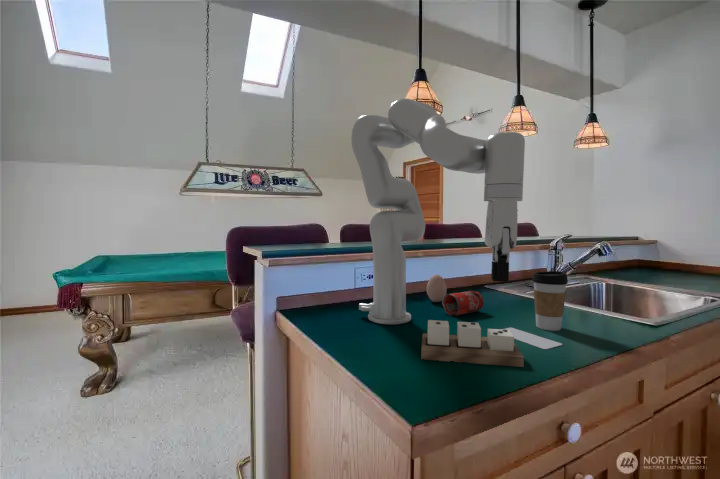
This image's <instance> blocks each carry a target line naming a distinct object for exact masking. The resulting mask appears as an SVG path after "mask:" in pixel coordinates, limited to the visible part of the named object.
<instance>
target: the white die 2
mask: <svg viewBox="0 0 720 479" xmlns="http://www.w3.org/2000/svg"><path fill="white" fill-rule="evenodd" d="M456 326H457V327H456V328H457V329H456V330H457V331H456V335H457V341H458V346H465V347H480V348H481V337H482V328H481V326H480V324H479V322H475V321H474V322H470V321H469V322H468V321H457V323H456Z"/></svg>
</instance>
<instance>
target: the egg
mask: <svg viewBox="0 0 720 479" xmlns="http://www.w3.org/2000/svg"><path fill="white" fill-rule="evenodd" d="M447 289H448V288H447V284H446V281H445V279H444V278H443V276H441V275H439V274H434V275H432V276H431V277H430V278H429V279H428V282H427V284H426V294H427V296H428V298H429V300H430V301H432V302H433V303H440V302H442V300H443V298H444V297H445V295H446V294H447Z"/></svg>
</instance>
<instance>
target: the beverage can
mask: <svg viewBox="0 0 720 479" xmlns="http://www.w3.org/2000/svg"><path fill="white" fill-rule="evenodd" d="M484 302H485V301H484V298H483V296H482V294H481V293H480V292H479V291H474V290H468V291H461V292H452V293H446V295H445V297H444V298H443V300H442V301H441V305H442V307H443V310H444V312H445V313H446V314H447V315H448V316H450V317H452V315H453V316H454V317H455V316H456V317H457V316H461V315H465V314H473V313H478V312H479V311H480V310H481V309H482V308H483V307H484Z"/></svg>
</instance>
